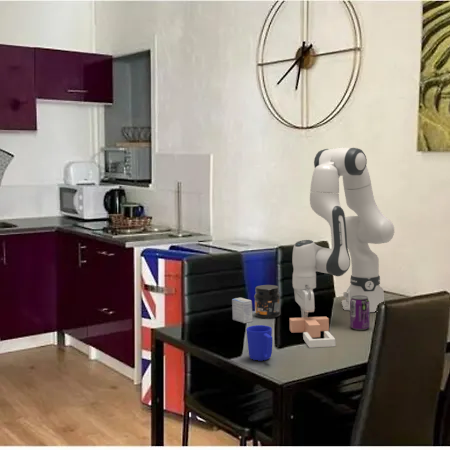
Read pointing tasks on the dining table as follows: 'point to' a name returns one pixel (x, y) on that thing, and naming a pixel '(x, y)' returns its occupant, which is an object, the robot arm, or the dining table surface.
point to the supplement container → (267, 301)
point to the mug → (259, 342)
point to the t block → (309, 325)
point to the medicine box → (242, 310)
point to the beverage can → (359, 312)
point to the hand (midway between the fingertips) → (304, 318)
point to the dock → (319, 340)
